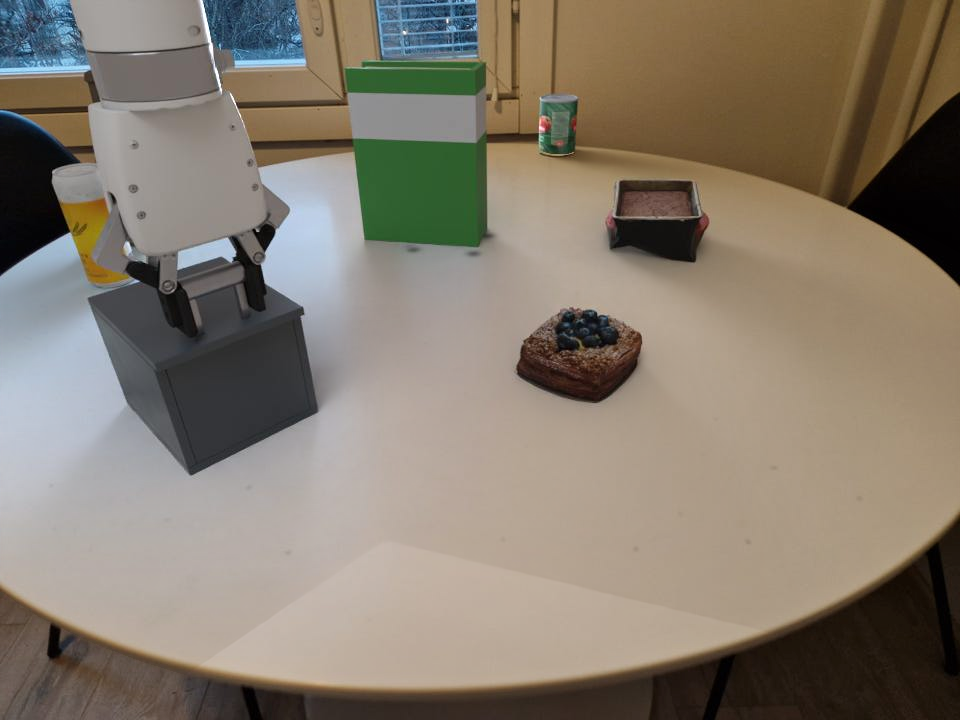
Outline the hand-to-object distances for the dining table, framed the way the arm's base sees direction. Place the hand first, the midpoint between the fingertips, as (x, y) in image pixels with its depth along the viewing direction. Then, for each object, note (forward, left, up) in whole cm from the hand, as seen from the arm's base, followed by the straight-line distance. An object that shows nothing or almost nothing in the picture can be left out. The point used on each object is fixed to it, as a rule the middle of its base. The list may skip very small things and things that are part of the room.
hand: (220, 316), depth 52 cm
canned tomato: (+93, +42, -13) cm, 103 cm away
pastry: (+30, -14, -13) cm, 35 cm away
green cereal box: (+43, +26, -13) cm, 52 cm away
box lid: (0, +6, -2) cm, 6 cm away
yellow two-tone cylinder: (+3, +44, -13) cm, 46 cm away
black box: (0, +6, -12) cm, 14 cm away
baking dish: (+64, -1, -13) cm, 65 cm away
